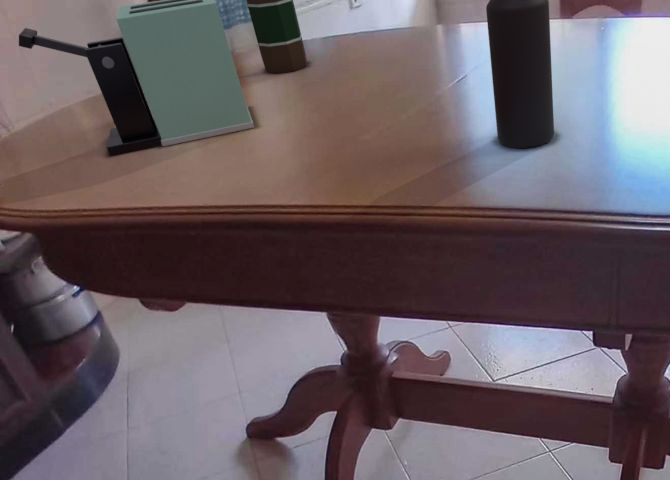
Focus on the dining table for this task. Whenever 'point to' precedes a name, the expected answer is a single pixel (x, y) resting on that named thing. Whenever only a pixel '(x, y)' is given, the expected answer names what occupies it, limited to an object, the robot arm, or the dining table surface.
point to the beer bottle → (278, 35)
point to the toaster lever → (49, 43)
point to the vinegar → (521, 71)
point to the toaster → (185, 68)
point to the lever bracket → (122, 97)
